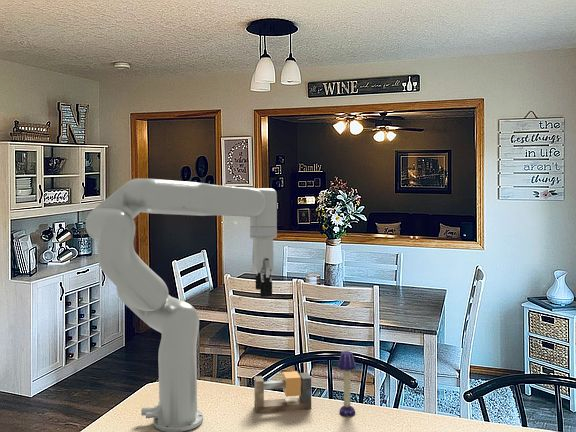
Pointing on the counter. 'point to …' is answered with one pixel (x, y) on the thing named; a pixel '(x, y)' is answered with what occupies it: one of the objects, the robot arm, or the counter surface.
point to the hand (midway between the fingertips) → (263, 292)
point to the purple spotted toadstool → (346, 381)
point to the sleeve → (292, 383)
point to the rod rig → (281, 404)
